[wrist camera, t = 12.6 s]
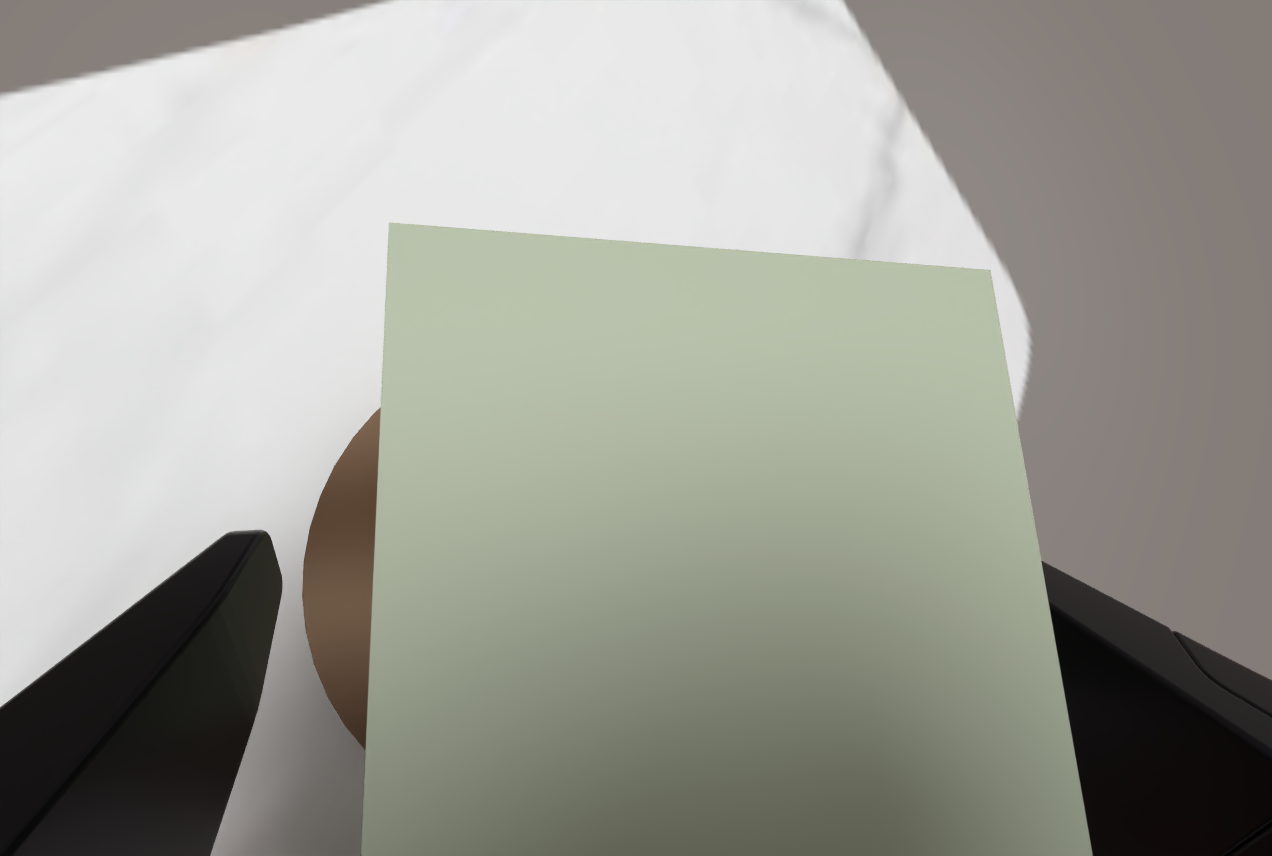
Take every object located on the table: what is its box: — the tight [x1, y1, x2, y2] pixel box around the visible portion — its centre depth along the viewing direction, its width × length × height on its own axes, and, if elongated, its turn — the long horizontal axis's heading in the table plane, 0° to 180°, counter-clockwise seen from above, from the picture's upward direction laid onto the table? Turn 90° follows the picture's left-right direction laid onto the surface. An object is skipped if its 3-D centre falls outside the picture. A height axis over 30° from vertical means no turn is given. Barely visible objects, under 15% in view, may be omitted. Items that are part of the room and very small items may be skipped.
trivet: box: [302, 407, 381, 750], centre depth 17 cm, size 13×13×2 cm
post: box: [361, 223, 1093, 856], centre depth 10 cm, size 5×5×13 cm
